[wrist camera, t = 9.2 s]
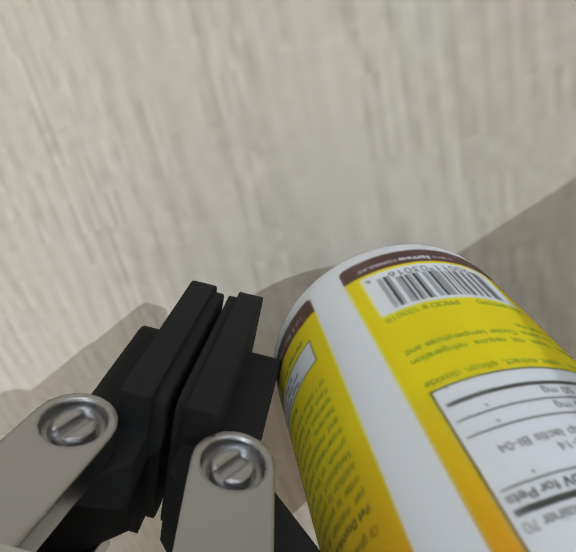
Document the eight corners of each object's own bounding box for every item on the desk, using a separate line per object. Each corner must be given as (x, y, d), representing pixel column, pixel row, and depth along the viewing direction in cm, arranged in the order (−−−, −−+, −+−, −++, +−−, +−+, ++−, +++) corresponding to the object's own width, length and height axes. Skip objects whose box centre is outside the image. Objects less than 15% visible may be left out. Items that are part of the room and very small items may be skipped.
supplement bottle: (342, 448, 15) (589, 1145, 6) (221, 327, 12) (362, 1345, 3) (518, 341, 14) (1100, 972, 5) (434, 182, 11) (1445, 1022, 2)
